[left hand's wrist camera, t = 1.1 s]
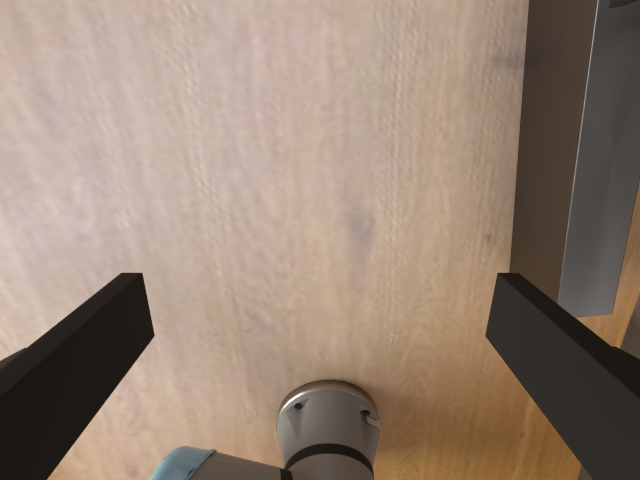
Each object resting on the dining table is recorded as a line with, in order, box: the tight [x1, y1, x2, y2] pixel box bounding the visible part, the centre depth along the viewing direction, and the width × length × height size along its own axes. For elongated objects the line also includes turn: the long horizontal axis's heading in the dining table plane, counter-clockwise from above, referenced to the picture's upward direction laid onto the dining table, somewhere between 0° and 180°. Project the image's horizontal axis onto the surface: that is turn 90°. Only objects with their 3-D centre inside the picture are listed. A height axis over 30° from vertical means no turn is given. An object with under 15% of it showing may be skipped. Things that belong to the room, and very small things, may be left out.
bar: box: [510, 0, 640, 318], centre depth 33 cm, size 32×6×9 cm, turn 8°
